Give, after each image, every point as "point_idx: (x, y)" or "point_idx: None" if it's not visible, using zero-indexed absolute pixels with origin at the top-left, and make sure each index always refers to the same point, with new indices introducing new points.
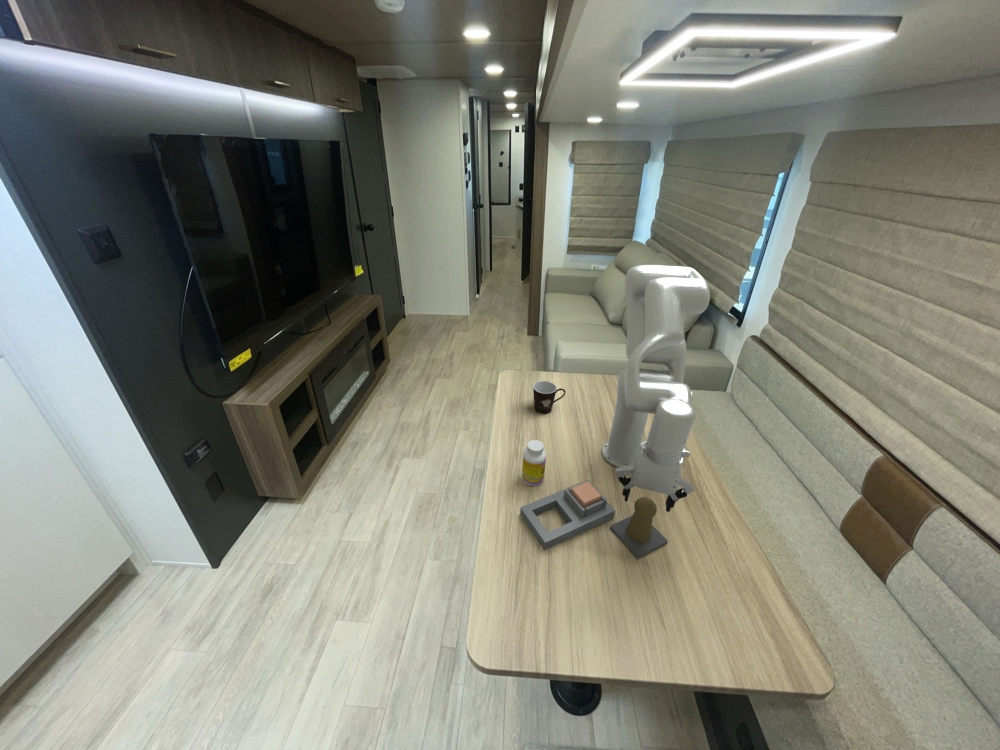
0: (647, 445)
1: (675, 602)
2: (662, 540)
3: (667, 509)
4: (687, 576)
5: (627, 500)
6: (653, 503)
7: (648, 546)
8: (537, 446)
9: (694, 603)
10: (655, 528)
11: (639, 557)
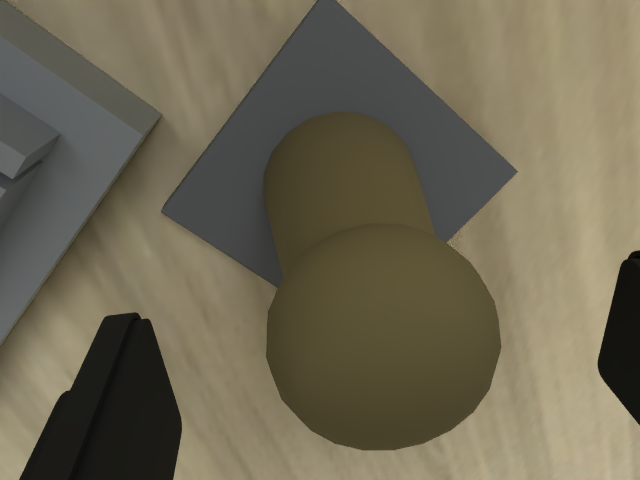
0: None
1: (506, 428)
2: (484, 182)
3: (624, 393)
4: (579, 311)
5: (176, 444)
6: (472, 357)
7: None
8: None
9: (579, 404)
10: (446, 104)
11: None
